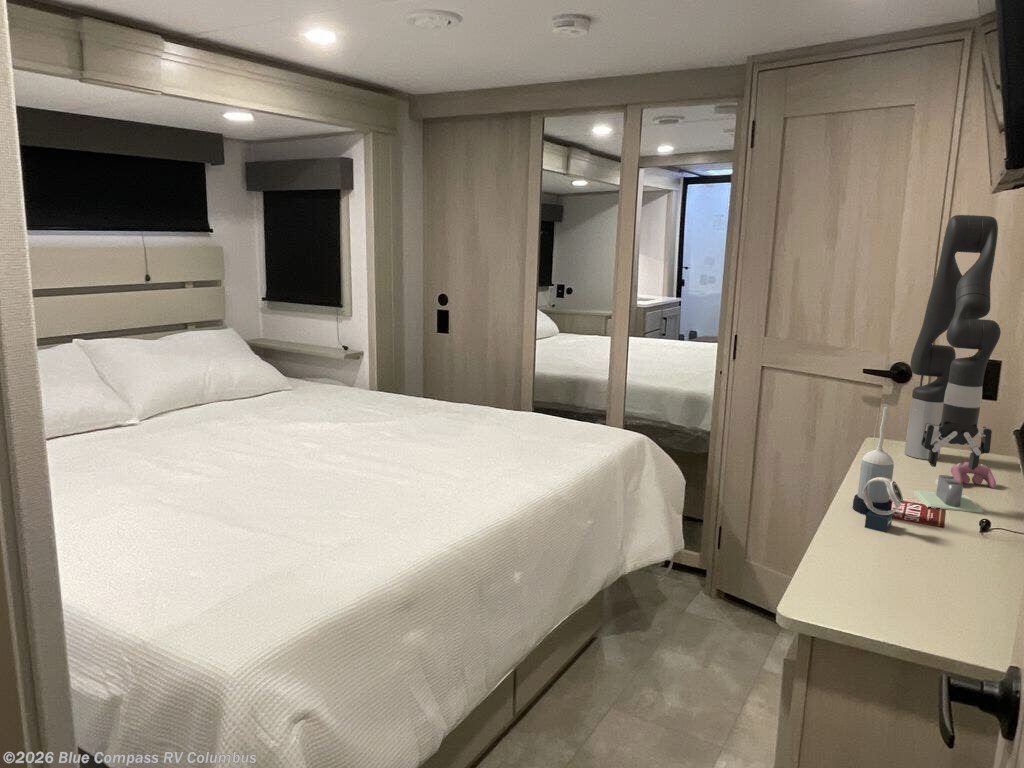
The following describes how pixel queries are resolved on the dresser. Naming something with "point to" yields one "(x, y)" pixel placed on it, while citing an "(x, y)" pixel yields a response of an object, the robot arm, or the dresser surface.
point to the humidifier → (875, 476)
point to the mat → (935, 502)
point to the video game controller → (979, 473)
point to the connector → (949, 490)
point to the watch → (879, 517)
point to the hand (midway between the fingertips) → (951, 467)
